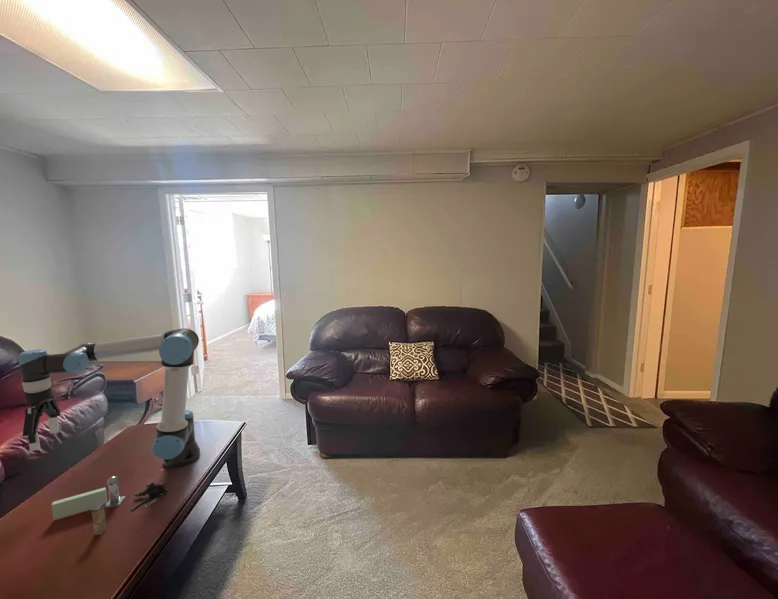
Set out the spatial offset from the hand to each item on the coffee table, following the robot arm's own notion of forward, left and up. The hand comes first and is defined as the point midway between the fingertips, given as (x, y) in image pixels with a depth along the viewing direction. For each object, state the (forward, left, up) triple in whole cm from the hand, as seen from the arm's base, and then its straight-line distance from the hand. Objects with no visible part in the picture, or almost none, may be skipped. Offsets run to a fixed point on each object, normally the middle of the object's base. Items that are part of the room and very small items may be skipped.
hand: (45, 440), depth 135 cm
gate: (-17, +13, -23) cm, 31 cm away
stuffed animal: (-39, +9, -24) cm, 47 cm away
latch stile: (-29, +25, -24) cm, 45 cm away
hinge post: (-27, +10, -24) cm, 37 cm away
